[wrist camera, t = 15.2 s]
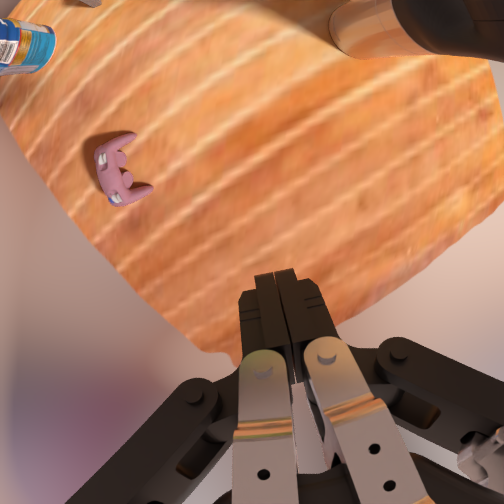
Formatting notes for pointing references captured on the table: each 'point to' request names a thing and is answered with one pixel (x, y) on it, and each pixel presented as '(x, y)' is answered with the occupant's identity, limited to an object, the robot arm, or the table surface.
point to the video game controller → (117, 172)
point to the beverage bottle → (24, 46)
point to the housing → (92, 2)
